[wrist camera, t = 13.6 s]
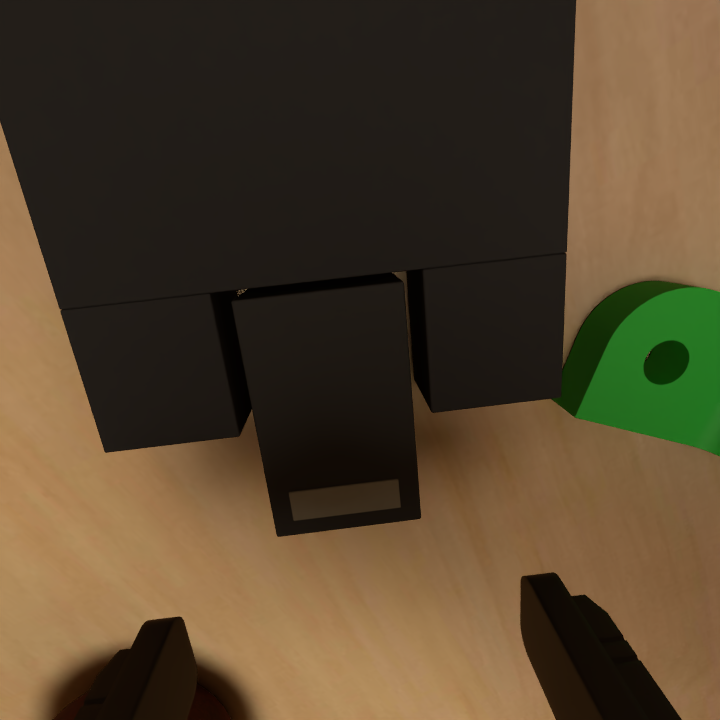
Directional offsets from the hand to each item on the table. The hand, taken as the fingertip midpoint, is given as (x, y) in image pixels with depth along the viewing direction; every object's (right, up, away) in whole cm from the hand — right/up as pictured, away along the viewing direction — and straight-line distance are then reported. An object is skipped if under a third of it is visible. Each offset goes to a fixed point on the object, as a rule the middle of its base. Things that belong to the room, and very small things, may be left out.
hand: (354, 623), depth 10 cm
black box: (-1, +5, +8) cm, 10 cm away
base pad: (-2, +12, +6) cm, 13 cm away
